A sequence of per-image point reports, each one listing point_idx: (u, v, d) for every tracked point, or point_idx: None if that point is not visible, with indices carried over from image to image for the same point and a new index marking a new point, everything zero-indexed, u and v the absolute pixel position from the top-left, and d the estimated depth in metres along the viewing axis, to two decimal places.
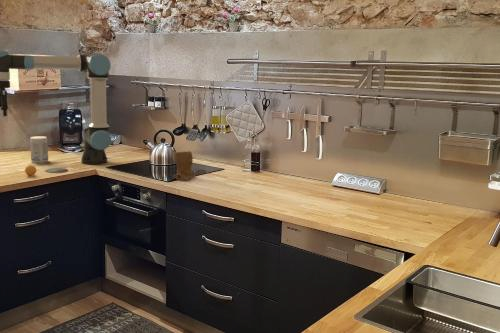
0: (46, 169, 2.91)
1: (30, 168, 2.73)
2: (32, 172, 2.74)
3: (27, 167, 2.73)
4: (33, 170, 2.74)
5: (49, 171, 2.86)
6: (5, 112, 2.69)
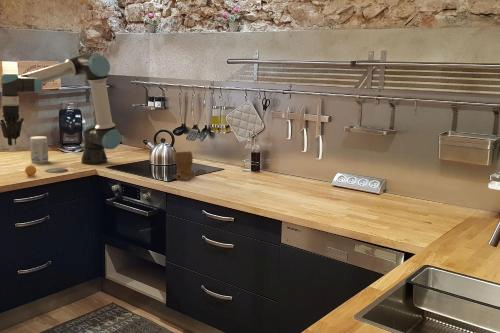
0: (46, 169, 2.91)
1: (30, 168, 2.73)
2: (32, 172, 2.74)
3: (27, 167, 2.73)
4: (33, 170, 2.74)
5: (49, 171, 2.86)
6: None
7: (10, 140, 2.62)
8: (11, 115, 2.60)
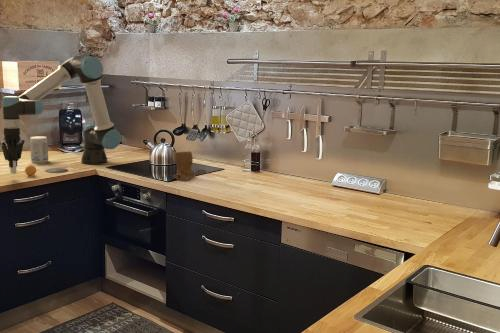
0: (46, 169, 2.91)
1: (30, 168, 2.73)
2: (32, 172, 2.74)
3: (27, 167, 2.73)
4: (33, 170, 2.74)
5: (49, 171, 2.86)
6: None
7: (11, 162, 2.64)
8: (12, 138, 2.62)
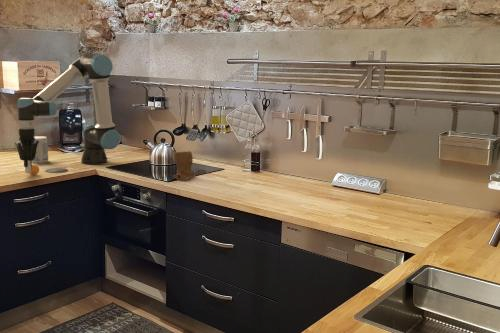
0: (46, 169, 2.91)
1: (34, 167, 2.75)
2: (35, 171, 2.75)
3: None
4: (36, 169, 2.75)
5: (49, 171, 2.86)
6: None
7: (26, 162, 2.72)
8: (27, 138, 2.70)
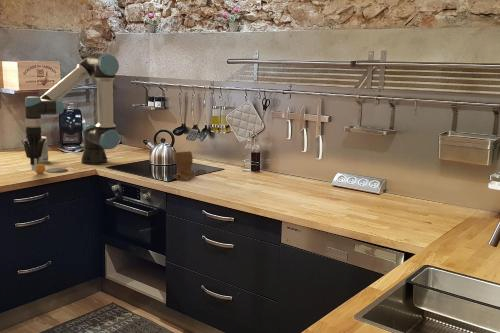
0: (46, 169, 2.91)
1: (42, 165, 2.79)
2: (41, 169, 2.78)
3: None
4: (43, 168, 2.79)
5: (49, 171, 2.86)
6: None
7: (32, 160, 2.75)
8: (34, 136, 2.73)
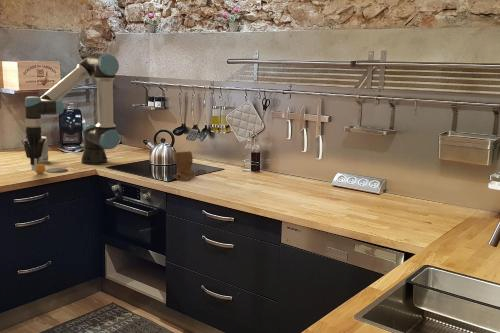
0: (46, 169, 2.91)
1: (42, 165, 2.79)
2: (41, 169, 2.78)
3: None
4: (43, 168, 2.79)
5: (49, 171, 2.86)
6: None
7: (32, 160, 2.75)
8: (34, 136, 2.73)
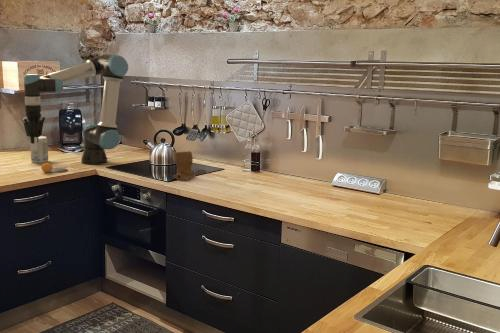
0: None
1: None
2: (50, 166, 2.82)
3: None
4: (50, 168, 2.83)
5: None
6: None
7: (33, 138, 2.73)
8: (33, 114, 2.71)
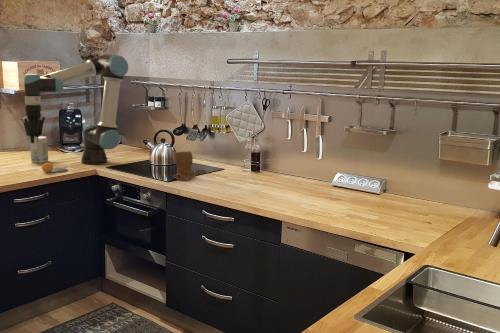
0: None
1: (52, 168, 2.85)
2: (50, 166, 2.83)
3: None
4: (51, 168, 2.83)
5: None
6: None
7: (32, 138, 2.73)
8: (33, 114, 2.71)
